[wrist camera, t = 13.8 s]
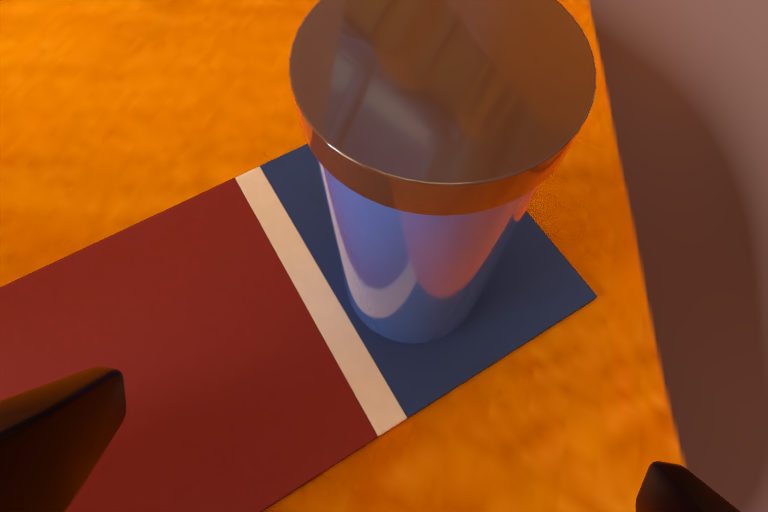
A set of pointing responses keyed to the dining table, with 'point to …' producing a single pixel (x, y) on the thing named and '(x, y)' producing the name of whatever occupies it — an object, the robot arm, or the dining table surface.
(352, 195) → the blue canister
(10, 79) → the dining table surface
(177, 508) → the sorting mat
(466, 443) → the dining table surface
